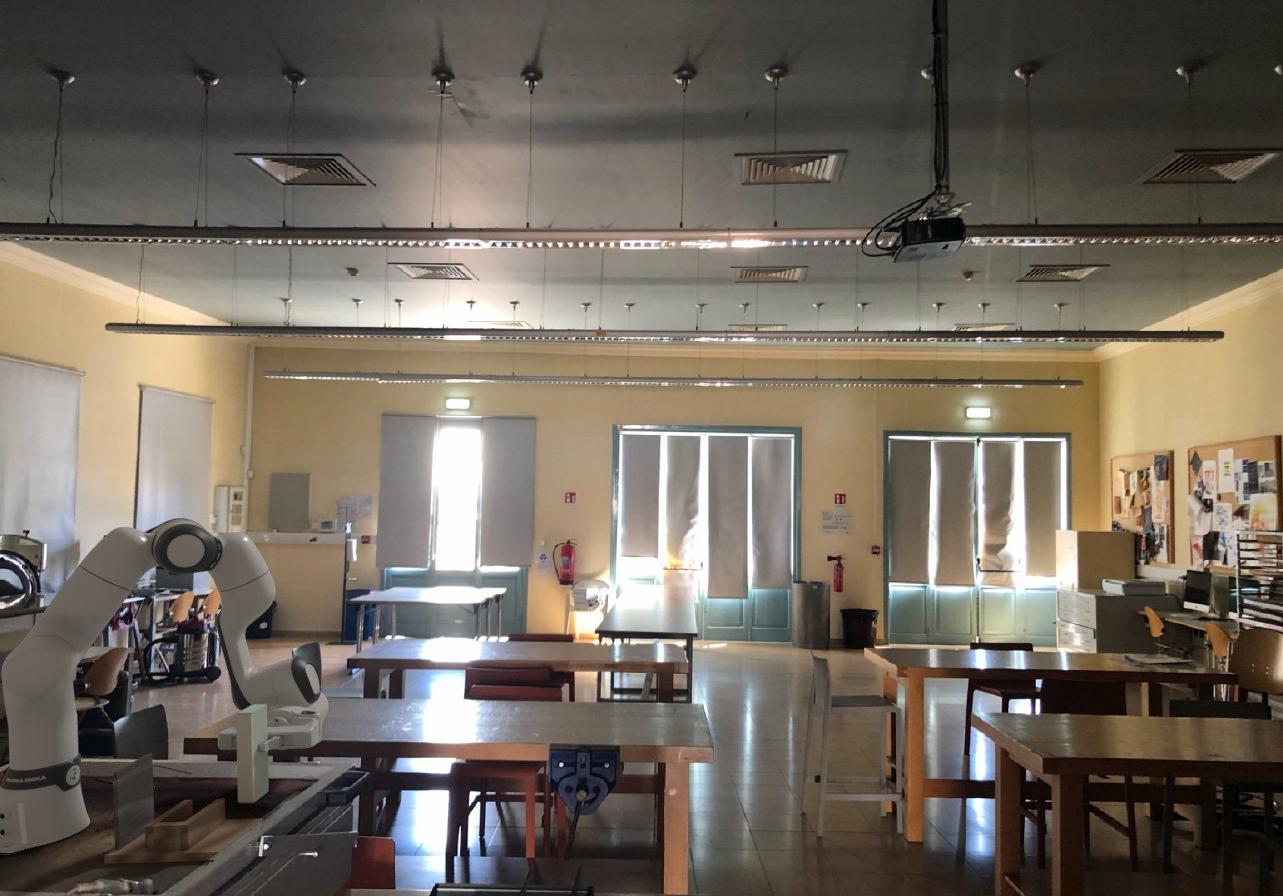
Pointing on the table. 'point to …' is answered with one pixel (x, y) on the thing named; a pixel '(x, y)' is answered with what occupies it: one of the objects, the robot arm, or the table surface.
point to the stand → (165, 823)
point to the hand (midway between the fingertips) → (250, 748)
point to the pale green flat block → (252, 753)
